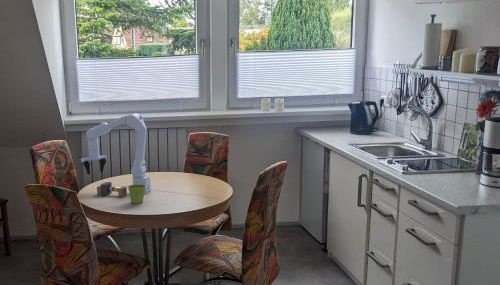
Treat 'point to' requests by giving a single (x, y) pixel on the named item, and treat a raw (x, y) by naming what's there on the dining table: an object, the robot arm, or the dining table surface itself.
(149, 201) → the dining table surface
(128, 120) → the robot arm
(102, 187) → the gray square nut
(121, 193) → the brown dumbbell
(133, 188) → the plant pot
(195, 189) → the dining table surface
